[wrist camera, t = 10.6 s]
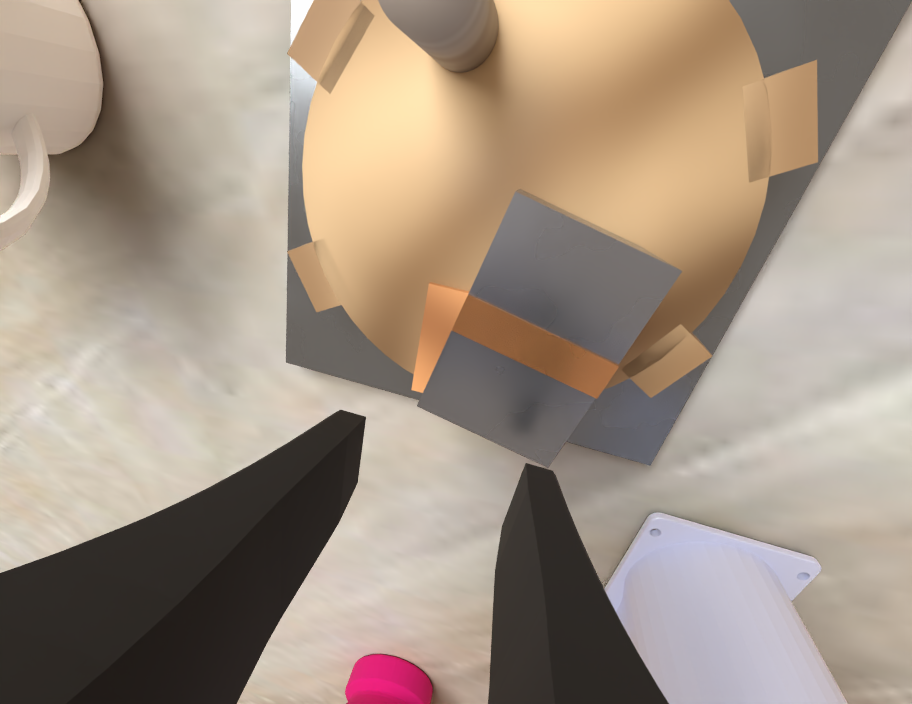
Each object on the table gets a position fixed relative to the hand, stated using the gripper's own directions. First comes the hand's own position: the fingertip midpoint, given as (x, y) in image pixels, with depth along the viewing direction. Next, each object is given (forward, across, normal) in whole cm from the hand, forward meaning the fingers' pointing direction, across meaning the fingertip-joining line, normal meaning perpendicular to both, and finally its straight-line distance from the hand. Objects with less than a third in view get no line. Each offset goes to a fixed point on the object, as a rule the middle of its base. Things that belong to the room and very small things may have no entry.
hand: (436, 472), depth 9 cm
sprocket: (+8, 0, -5) cm, 9 cm away
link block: (+6, -1, -2) cm, 7 cm away
